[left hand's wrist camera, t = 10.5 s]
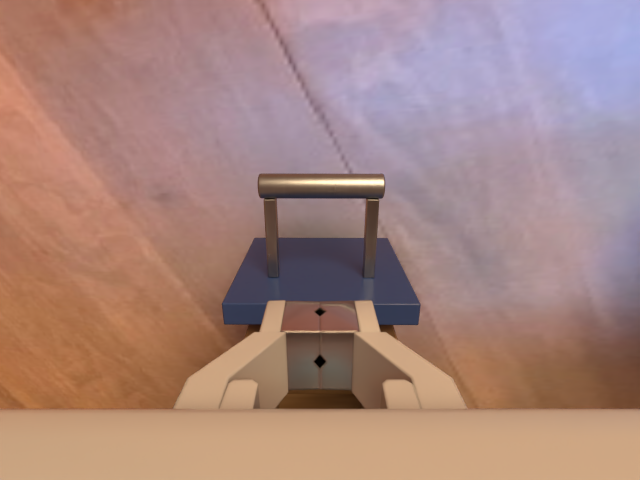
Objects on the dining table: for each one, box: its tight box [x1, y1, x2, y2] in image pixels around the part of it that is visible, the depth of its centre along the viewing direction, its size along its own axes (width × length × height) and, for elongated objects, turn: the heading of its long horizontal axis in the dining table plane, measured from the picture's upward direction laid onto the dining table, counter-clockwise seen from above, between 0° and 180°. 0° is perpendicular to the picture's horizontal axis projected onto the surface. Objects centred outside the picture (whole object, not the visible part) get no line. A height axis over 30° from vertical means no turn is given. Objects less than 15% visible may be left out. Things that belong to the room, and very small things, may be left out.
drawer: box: [222, 174, 421, 409], centre depth 22 cm, size 20×10×9 cm, turn 0°
